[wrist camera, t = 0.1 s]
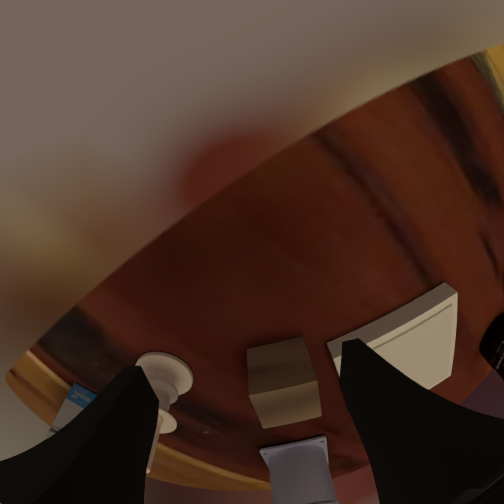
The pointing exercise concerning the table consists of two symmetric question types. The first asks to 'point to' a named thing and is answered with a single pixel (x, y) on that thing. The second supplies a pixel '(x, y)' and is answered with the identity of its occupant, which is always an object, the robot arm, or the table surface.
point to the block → (282, 383)
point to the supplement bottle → (494, 346)
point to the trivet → (413, 337)
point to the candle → (165, 388)
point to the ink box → (71, 407)
